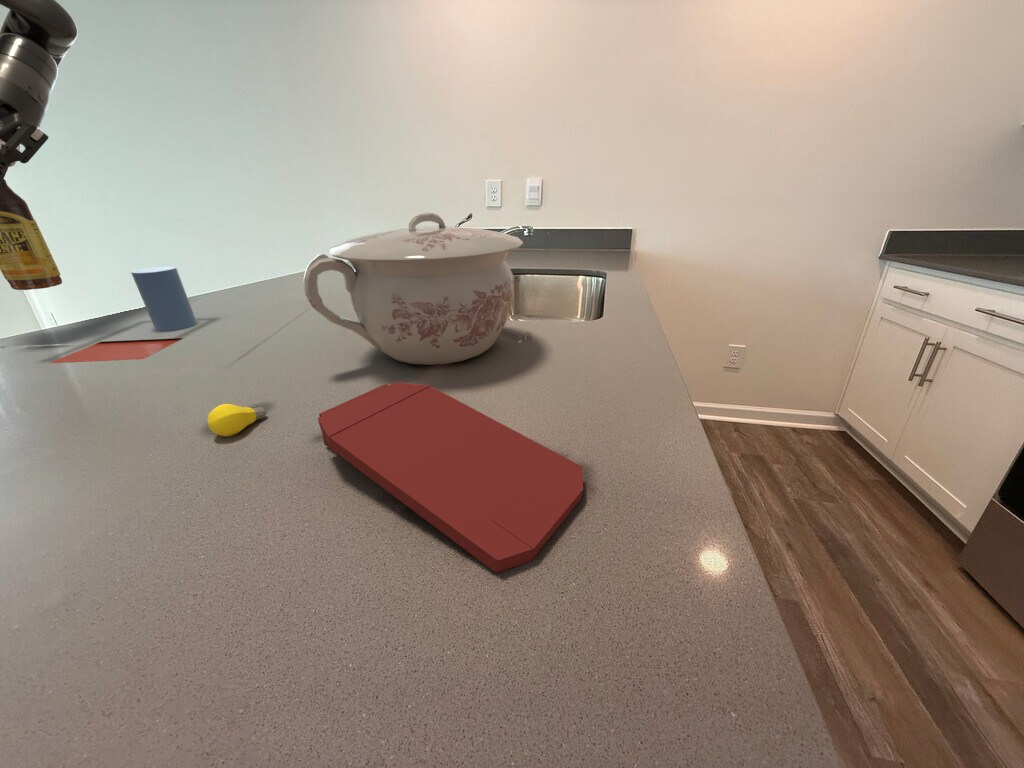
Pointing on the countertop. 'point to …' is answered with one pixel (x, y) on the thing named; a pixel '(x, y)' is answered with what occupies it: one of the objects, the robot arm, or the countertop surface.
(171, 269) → the blue can
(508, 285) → the chamber pot
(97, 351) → the board
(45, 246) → the sauce bottle
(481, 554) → the red chamfered slab
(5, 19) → the robot arm
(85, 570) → the countertop surface
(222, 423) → the light bulb
